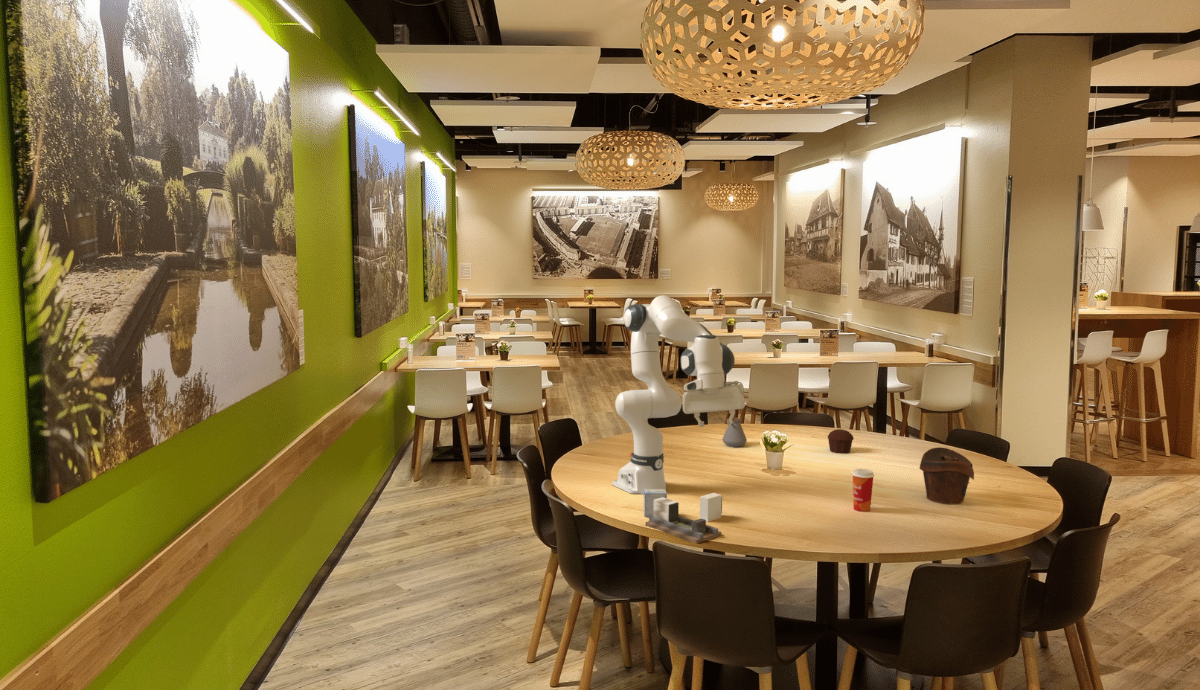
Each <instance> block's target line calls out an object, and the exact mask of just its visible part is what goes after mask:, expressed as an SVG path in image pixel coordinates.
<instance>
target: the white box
mask: <svg viewBox="0 0 1200 690" xmlns="http://www.w3.org/2000/svg"><path fill="white" fill-rule="evenodd" d="M722 514H723V496H722V494H719V493H716V492H711V493H707V494H705V495H700V497H699V519H701V518H702V519H705V520H706V523H708V522H711V521H714V520H719V519H720V518H722Z"/></svg>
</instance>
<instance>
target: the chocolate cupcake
mask: <svg viewBox="0 0 1200 690" xmlns="http://www.w3.org/2000/svg"><path fill="white" fill-rule="evenodd" d="M919 470H920V471H922V473H923V479H924V480H923V481H924V488H925V493H926V498H927V500H929V501H932V502H935V503H938V504H944V505H959V504H962V503H963V502H964V500H965V496H966V493H967V490H968V485H969V484H970V479H971V480H973V481H975V472H974V468H973V463H972V462H971V461H970V460H969V459H968V458H967V457H966V456H964V455H963V454H961V453H959V452H957V451H955V450H953V449H950V448H947V447H939V446H938V447H933V448H930V449H928V450H926V452H924V453H923V454H922V458H921V460H920V463H919Z"/></svg>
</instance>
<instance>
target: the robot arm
mask: <svg viewBox="0 0 1200 690" xmlns="http://www.w3.org/2000/svg"><path fill="white" fill-rule="evenodd" d="M623 324H624V327H625V328H626V329H627V330H628V331H630V332H631V337H630V362H631V364H630V365H631V373H632V375H633V377H634V378H636V379H637V380H639V381H640V382H643V383H645V385H646V386H647V389H629V390H625V391H622V392H619V393H618V395H617V397H616V398H615V401H614V407H615V411H616V413H617V414H618V415H619V417H620V418H622V419H623V420H624V421H626V422H627V424H628V425H629V428H630V429H631V432H632V436H633V437H632V438H633V439H632V440H633V452H630V453H629V455H628V457H631V458H630V461H629V462H627V463H626V464H625V465H623V466H622V467H621V468H619V470H618V473H617V479H615V480H612V482H611V485H612V486H614V487H616V488H618V489H621V490H622V491H624V492H626V493H629V494H632V495H633V494H641V495H643V494H644V490H651V489H665V490H667V482H666V479H665V478H666V477H665V470H664V461H665V460H664V459H665V456H664V453H663V447H664V446H663V439H664V438H663V437H664V435H663V433H662V432H661V430H659V429H658V428H657V427H654V426H652V425H651V424H649V421H648V419H652V418H653V419H659V418H669V417H672V416H677V415H678V413H680V411H681V409H682V412H683V413H684V414H686V415H689V414H693V415H694V416H693V417H694V419H695V420H696V421H697V423H698V427H699V428H702V427H705V421H704V420H703V421H702V420H701V418H700V417H701V413H709V412H724V411H728V412H729V414H730V416H729V419H728V418H727V419H726V425H727V426H728V425H729V424H732V418H734V416H735V414H736V410H744V408H746V407H745V406H746V403H745V397H744V385H743V383H742V382H740V381H738V380H735V381H726V380H725V376H726V375H728V374H729V373H730V371H731V370H732V369H733V368H734V366H735V359H736V358H735V355H734V353H733V351H732V350H731V348H729V346H727V345H725V344H724V343H722V342H721V341H720V340H719V336H717V335H715V334H712V332H711V331H710V330H709V329H708V328H707V327H705V326H704V325H703V324H702V323H700V322H699V321H696V320H695V319H693V318H691V316H689V315H688V314H686V312H684V311H683V309H682V307H680V306H679V304H678V303H677V302H676V301H675V300H674V299H673V298H671V296H669V295H664V294H662V295H657V296H656V297H655V298H654V299H652V301H651V302H650V303H643V304H639V303H635V304H631V305H628V306H627V307H626V308H625V310H624V313H623ZM661 335H662V336H663V337H664V338H666V339H668V340H672V341H681V342H689V343H692V345H690V346H689V347H688V348H686V349H685V350H683V352H682V353H681V355H680V358H679V359H680V360H679V363H680V368H681V370H682V372H684V373H685V374H686V375H687V376H690V377H692V376H693V377H696V378H697V379H695V380H692V381H690V382H687V383H685V384H684V385H683V391H685V392H684V393H683V395H682V398H681V396H680V394H679V392H678V391H677V390H676V389H674V388H672V387H671V386H670V384H669V383H668V382H667V381H666V380H665V377H664V375H663V372H662V366H661V359H660V347H659V339H660V338H659V337H660V336H661ZM731 372H732V371H731Z"/></svg>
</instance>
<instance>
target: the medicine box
mask: <svg viewBox="0 0 1200 690" xmlns="http://www.w3.org/2000/svg"><path fill="white" fill-rule="evenodd" d="M666 490H667V489H666ZM666 490H665V489H651V490H644V494H642V495H643V501H642V502H643V509H642V511H643V515H644V518H649V517H650V516H654V500H655V499H658V498H662V497H664V498H667V499H668V492H667V491H666Z"/></svg>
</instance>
